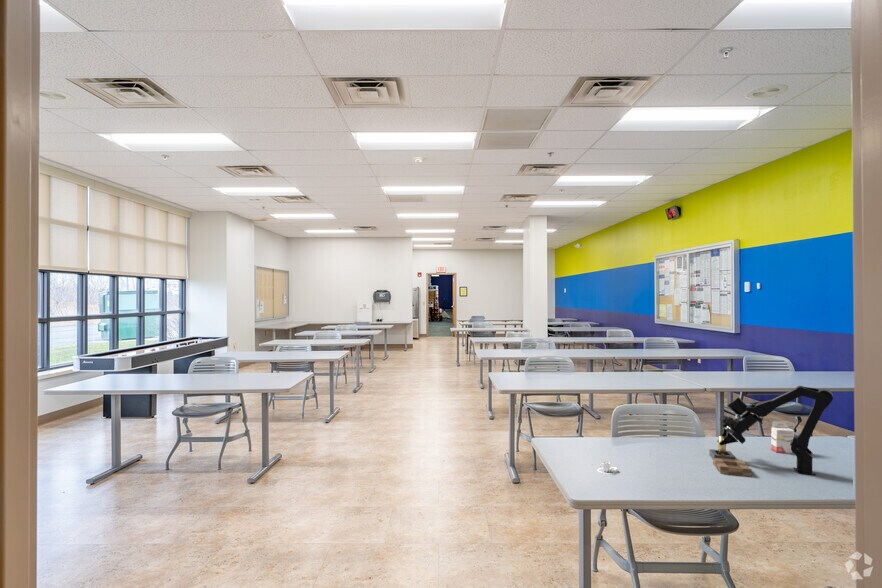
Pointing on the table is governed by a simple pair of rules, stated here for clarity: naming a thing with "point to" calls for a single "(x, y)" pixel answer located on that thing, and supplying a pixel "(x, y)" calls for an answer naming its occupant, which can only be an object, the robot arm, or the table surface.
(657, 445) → the table surface
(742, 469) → the wooden square frame
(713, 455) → the socket block
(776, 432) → the ink cartridge box
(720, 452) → the brass cylinder
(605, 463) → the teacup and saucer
